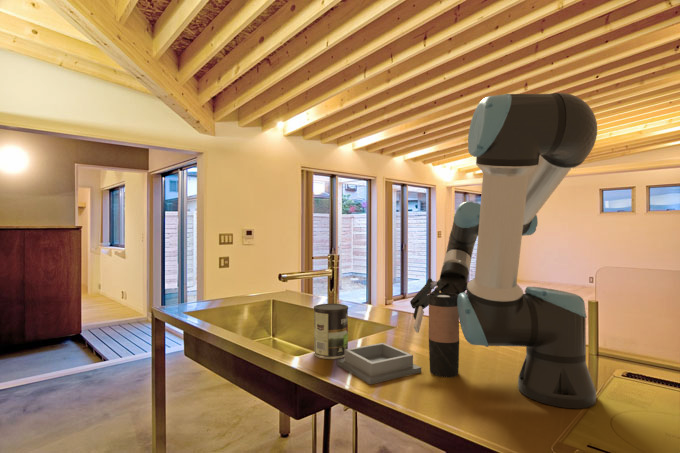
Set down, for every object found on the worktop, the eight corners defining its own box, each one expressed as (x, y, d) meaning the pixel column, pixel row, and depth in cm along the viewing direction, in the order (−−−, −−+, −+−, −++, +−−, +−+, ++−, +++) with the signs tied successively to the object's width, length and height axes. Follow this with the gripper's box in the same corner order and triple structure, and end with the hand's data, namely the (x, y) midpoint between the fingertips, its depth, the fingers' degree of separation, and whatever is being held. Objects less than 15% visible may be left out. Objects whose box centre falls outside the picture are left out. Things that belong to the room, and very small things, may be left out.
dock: (421, 372, 98) (421, 355, 98) (370, 384, 90) (370, 366, 90) (384, 354, 112) (384, 340, 112) (337, 364, 104) (337, 349, 104)
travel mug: (454, 380, 93) (453, 298, 93) (424, 374, 97) (424, 295, 97) (463, 370, 99) (462, 293, 100) (434, 365, 103) (434, 291, 104)
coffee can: (350, 349, 118) (350, 303, 118) (344, 360, 107) (344, 310, 108) (318, 347, 120) (318, 302, 120) (309, 358, 109) (309, 309, 110)
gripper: (503, 280, 106) (495, 348, 93) (417, 275, 119) (399, 334, 106) (500, 262, 102) (491, 331, 89) (411, 259, 115) (392, 319, 101)
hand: (441, 333), depth 97 cm, fingers open, 13 cm apart
